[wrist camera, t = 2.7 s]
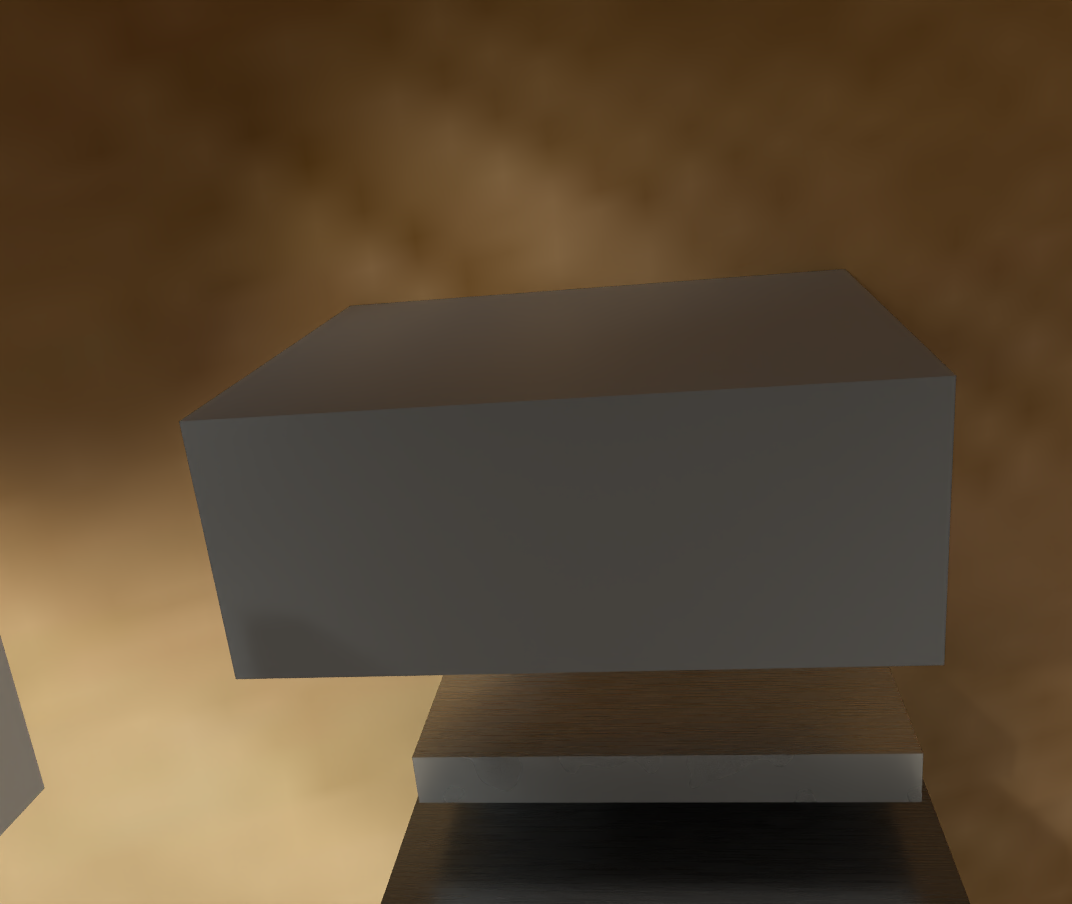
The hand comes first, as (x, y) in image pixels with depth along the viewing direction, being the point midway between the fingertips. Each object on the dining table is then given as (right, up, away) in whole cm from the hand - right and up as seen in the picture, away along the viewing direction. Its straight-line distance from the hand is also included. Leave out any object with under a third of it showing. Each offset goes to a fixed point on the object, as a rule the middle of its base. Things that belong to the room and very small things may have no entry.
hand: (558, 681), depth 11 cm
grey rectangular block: (+1, +4, +10) cm, 11 cm away
